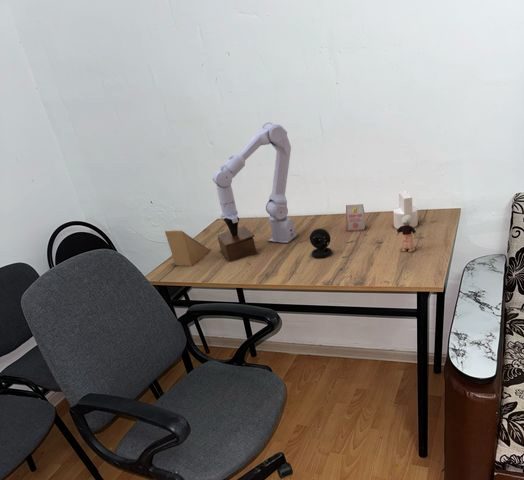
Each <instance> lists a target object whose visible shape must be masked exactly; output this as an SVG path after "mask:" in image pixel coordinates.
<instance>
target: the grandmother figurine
mask: <svg viewBox="0 0 524 480" xmlns="http://www.w3.org/2000/svg"><path fill="white" fill-rule="evenodd" d="M401 222H402V223H403V224H404V225H405V226H401V227H399V228H398V229H397V228H396V233H395V236H400V235H399V234H401V246H402V247H401V248H402V249H401V252H409V253H412V252H414V251H416V248H415V247H414V242H413V241H414V239H413V236H414V238H418V234H417V230H416V229H415V227H414V228H413V227H412V226H410V223H411V216H410V215H406V216H404V217H403V218H402V221H401Z"/></svg>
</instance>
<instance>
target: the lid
mask: <svg viewBox="0 0 524 480" xmlns="http://www.w3.org/2000/svg"><path fill="white" fill-rule="evenodd" d="M216 236H217V239H218V238H219V239H220V240H221V241H222V243H223V244H224V245H225V246H226V247H227V246H230V245H233V244H235V243H238V242H241V241H244V240H247V239H250V238H253V239H254V238H255V234H254V233H253V232H252V231H251V230H250V229H248V227H246V226H245V225H243V226H238V235H236V236H232V235H231V233H230V230H228V231H224V232H222V233H220V234H217V235H216Z"/></svg>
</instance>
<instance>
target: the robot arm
mask: <svg viewBox="0 0 524 480" xmlns="http://www.w3.org/2000/svg"><path fill="white" fill-rule="evenodd" d="M268 145H271V146H272V147H273V148H274V150H275V151H276V154H275V161H274V162H275V164H274V171H273V179H272V189H271V193H270V195H269V196H268V200H267V202H266V204H265V211H266V213H267V214H269V216H268V217H269V218H268V219H269V224H270V230H271V236H272V237H271V238H269V239H268V242H272V243H282V244H283V243H284V244H288V243H289V242H291V241H292V240H293V239H295V238H296V237H297V236H298V234H296V233H297V232H296V226H295V221H294V219H292V218H290V217H288V214H289V209H288V200H287V197H286V189H287V182H288V176H289V175H288V173H289V167H290V159H291V151H292V146H291V143H290V140H289V137H288V131H287V130H286V129H285V128H284V126H282V125H280V124H275V123H272V122H265V123H264V124H263V125H262V127H260V128H259V129H258V130H257V131H256V133H255V134H254V135H253V136H252V137H251V139H250V140H249V141H248V143H247V144H246V145H245V146H244V147H243V148H242V149H241V150H240V152H239V153H233V154H230V155H228V158H229V159H228V160H227V161H226V162H225V163H224V164H223V165H220V166H219V169H217V170H215V171H214V173H213V175H212V181H213V183H214V184H215V185H216V190H217V195H218V196H217V197H218V201H219V204H220V208H221V213H222V214H220V215H219V217H220V219H223V221H224V222H225V225H226V226H227V228H228V231H230V233H231V235H232V236H236V235H238V228H239V223H240V222H239V221H240V218H239V216H238V214H239V212H238V209H237V205H236V201H235V196H234V191H233V187H232V183H233V179H234V178H235V177H236V176H237V175H238V174H239V173H240V172H241V171H242V170H243V168H244V167H245V166H246V161H247V160H248V158H250V157H251V156H252V154H254V153H255V152H256V151H257V150H258V149H259V148H260V147H262V146H268Z"/></svg>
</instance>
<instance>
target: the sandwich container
mask: <svg viewBox="0 0 524 480" xmlns="http://www.w3.org/2000/svg"><path fill="white" fill-rule="evenodd" d="M164 233H165V236H166V237H165V238H166V239H167V243H168V246H169V249H170V253H171V255H172V258H173V260H174V264H175V266H183V267H184V266H186V267H192V266H193V265H195V264H196V263H197V262H199V261H200V260H201V259H202V258H203V257H204V256H205V255H207V254H208V253H209V252H210V251H211V249H209V248H208V247H206V246H205V245H203V244H202V243H201V242H199V241H197V240H196V239H194V238H193V237H191V236H190V235H189V234H187V233H186V232H184V231H183V230H178V229H177V230H174V229H172V230H164Z"/></svg>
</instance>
